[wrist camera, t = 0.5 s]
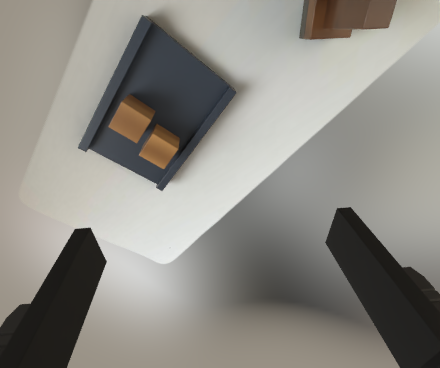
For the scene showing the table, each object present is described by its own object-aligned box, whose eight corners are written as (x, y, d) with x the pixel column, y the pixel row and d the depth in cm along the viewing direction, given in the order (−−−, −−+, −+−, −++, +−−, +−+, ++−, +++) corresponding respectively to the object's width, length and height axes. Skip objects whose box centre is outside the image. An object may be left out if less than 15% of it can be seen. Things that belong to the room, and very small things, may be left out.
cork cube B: (156, 123, 34) (152, 133, 31) (179, 138, 36) (178, 149, 32) (143, 143, 36) (138, 155, 32) (166, 157, 37) (163, 169, 34)
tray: (145, 15, 28) (142, 14, 26) (234, 88, 34) (236, 92, 32) (84, 141, 36) (77, 148, 34) (163, 183, 42) (162, 191, 40)
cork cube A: (129, 93, 32) (121, 101, 28) (155, 111, 33) (151, 120, 30) (116, 117, 33) (108, 127, 30) (142, 132, 35) (136, 143, 31)
